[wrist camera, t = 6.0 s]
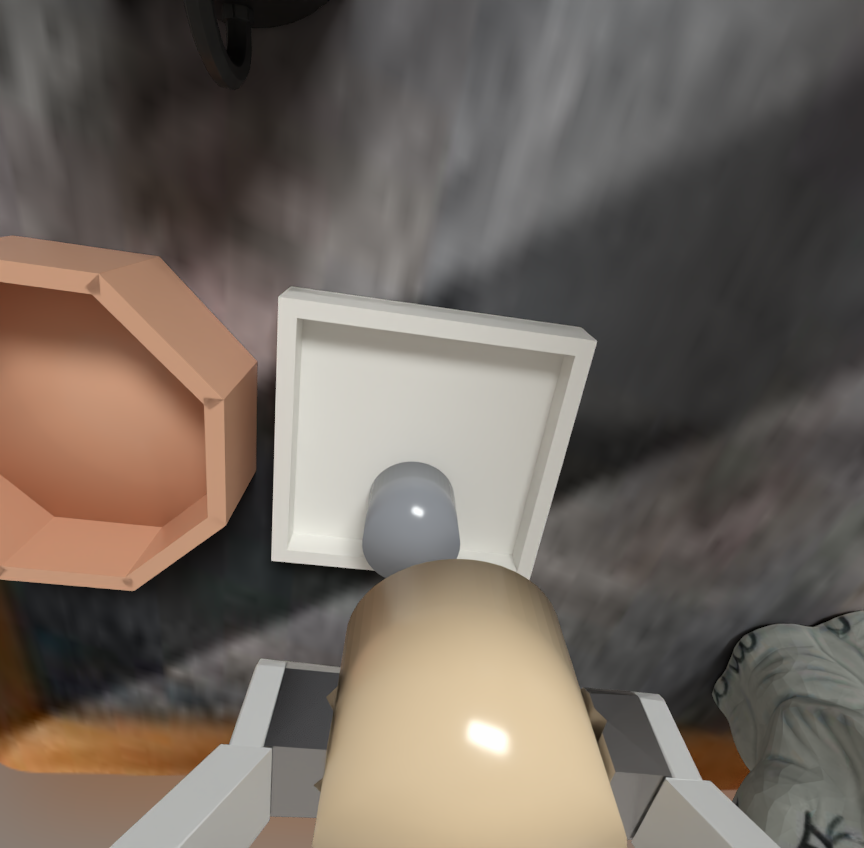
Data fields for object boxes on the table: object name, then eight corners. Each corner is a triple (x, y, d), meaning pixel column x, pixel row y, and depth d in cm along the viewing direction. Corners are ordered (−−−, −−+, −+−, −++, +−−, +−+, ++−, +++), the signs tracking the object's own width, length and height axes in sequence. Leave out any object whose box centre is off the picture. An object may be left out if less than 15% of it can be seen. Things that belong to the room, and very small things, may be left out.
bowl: (258, 270, 24) (222, 290, 20) (255, 536, 30) (227, 599, 26) (-95, 220, 23) (-221, 229, 18) (-23, 509, 29) (-105, 570, 24)
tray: (580, 327, 26) (597, 341, 23) (519, 556, 31) (528, 585, 29) (290, 286, 24) (278, 296, 22) (282, 532, 30) (271, 560, 28)
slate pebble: (460, 466, 28) (467, 509, 24) (447, 537, 29) (451, 587, 26) (373, 456, 27) (367, 498, 24) (365, 529, 29) (357, 579, 25)
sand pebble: (585, 571, 11) (672, 777, 7) (532, 723, 12) (579, 947, 9) (355, 547, 10) (320, 751, 7) (337, 707, 12) (302, 935, 8)
